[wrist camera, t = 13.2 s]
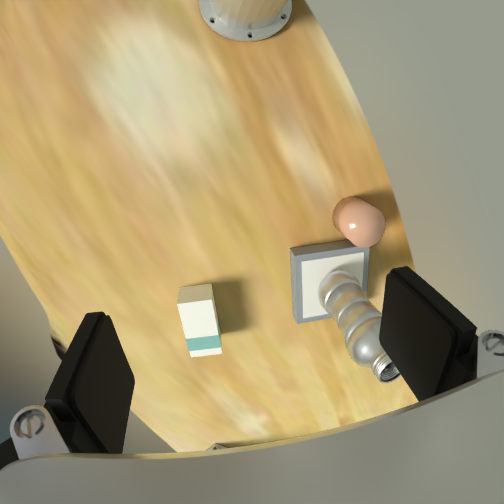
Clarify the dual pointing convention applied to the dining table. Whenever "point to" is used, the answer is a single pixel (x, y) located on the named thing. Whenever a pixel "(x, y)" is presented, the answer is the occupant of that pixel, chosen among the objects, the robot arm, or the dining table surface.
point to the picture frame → (322, 274)
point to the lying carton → (200, 320)
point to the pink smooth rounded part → (359, 221)
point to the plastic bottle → (356, 322)
